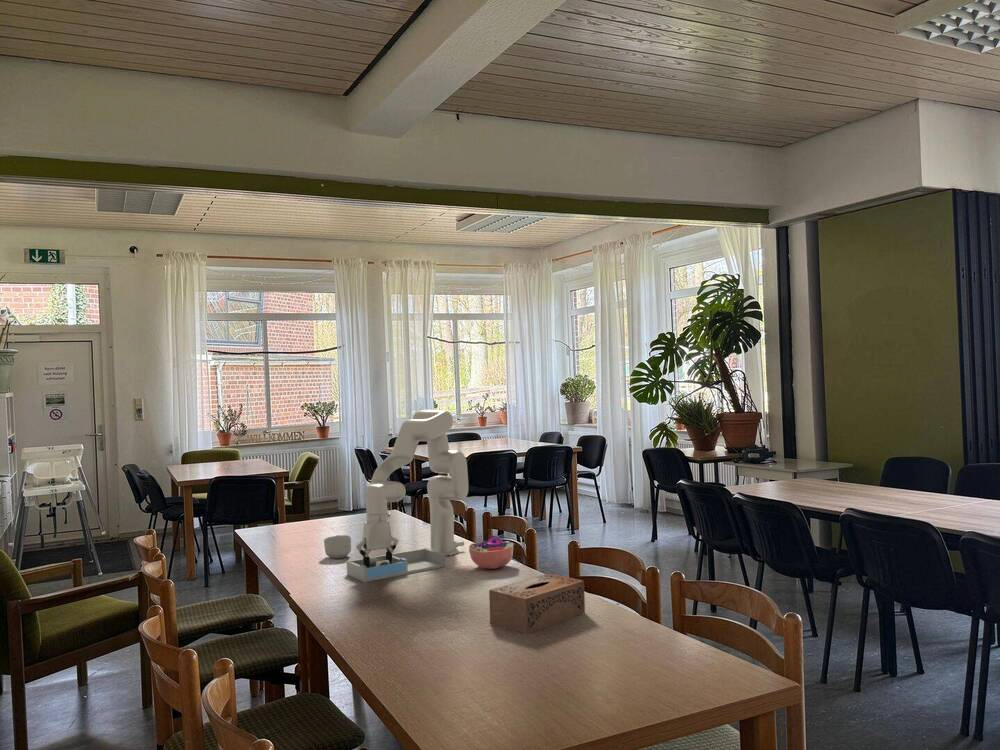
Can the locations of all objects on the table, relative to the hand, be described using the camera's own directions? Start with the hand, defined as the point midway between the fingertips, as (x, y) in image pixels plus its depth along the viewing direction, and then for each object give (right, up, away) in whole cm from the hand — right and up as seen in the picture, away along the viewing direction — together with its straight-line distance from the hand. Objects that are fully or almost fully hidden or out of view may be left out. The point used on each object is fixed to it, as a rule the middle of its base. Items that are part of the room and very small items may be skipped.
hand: (377, 565), depth 293 cm
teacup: (-21, -4, +32) cm, 39 cm away
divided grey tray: (+6, -3, +5) cm, 9 cm away
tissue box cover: (+56, -2, -57) cm, 80 cm away
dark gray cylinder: (0, 0, 0) cm, 0 cm away
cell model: (+42, -3, +7) cm, 43 cm away
